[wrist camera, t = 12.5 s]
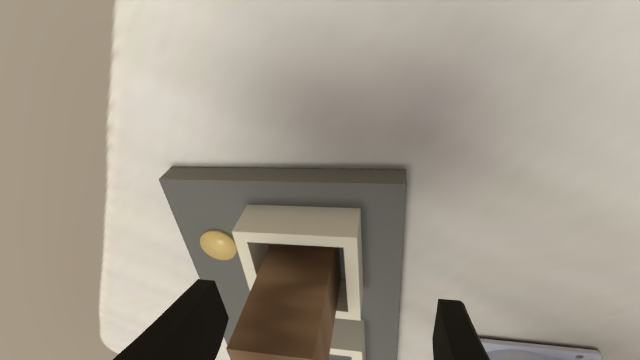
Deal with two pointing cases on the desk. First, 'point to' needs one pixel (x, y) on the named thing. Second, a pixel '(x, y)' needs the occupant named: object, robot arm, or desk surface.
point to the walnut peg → (290, 306)
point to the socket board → (300, 239)
